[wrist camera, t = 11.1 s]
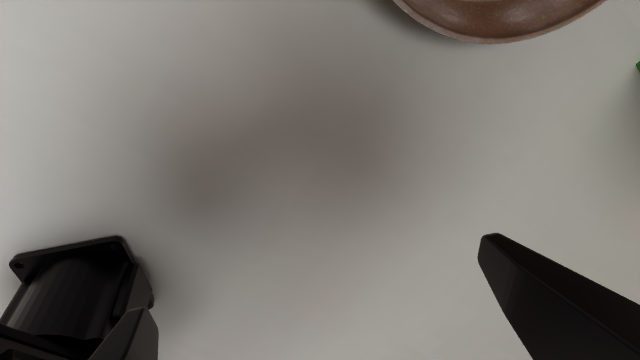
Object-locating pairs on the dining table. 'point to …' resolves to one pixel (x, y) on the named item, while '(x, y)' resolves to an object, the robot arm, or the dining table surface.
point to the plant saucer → (496, 17)
